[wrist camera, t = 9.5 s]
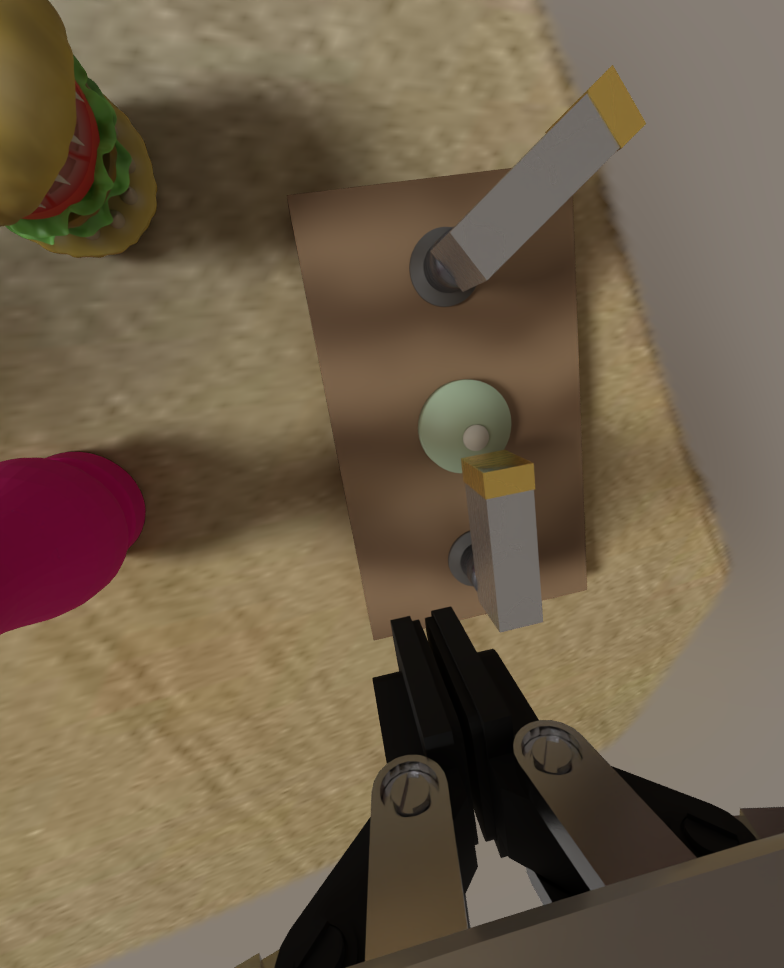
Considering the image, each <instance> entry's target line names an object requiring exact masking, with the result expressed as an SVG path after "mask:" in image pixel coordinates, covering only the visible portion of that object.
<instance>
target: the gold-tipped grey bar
mask: <svg viewBox="0 0 784 968" xmlns="http://www.w3.org/2000/svg"><path fill="white" fill-rule="evenodd" d="M645 124H646V123H645V121H644V119H643V117H642V116H641V114H640V112H639V110H638V109H637V107H636V105H635V103H634V101H633V100H632V98H631V96H630V95H629V93H628V91H627V89H626V87H625V86H624V84H623V82H622V81H621V79H620V77H619V75H618V73H617V72H616V70H615V68H614V67H613V65H612V66H611V67H610V68H609V69H608V70H607V71H606V72H605V73H604V74H603V75H602V76H601V77H600V78H599V79H598V80H597V81H596V82H595V83H594V84H593V85H592V86H591V87H590V88H589V89H588V90H587V91H586V92H585V93H584V94H583V95H582V96H581V97H580V98H579V99H578V100H577V101H576V102H575V103H574V104H573V105H572V106H571V107H570V108H569V109H568V110H567V111H566V112H565V113H564V114H563V115H562V116H561V117H560V118H559V119H558V120H557V121H556V122H555V123H554V124H553V125H552V126H551V127H550V128H549V129H548V130H547V131H546V132H545V133H546V134H545V135H544V136H543V137H542V138H541V139H540V140H539V141H538V142H537V143H536V144H535V145H534V146H533V147H532V148H531V149H530V150H529V151H528V152H527V153H526V154H525V155H524V156H523V157H522V158H521V159H520V160H519V162H518V163H517V164H516V165H515V166H514V167H513V168H512V169H511V170H510V171H509V172H508V173H507V174H506V175H505V176H504V177H503V178H502V179H501V180H500V181H499V182H498V183H497V184H496V185H495V186H494V187H493V188H492V189H491V190H490V191H489V192H488V193H487V194H486V195H485V196H484V197H483V198H482V199H481V200H480V201H479V202H478V203H477V204H476V205H475V206H474V207H473V208H472V209H471V210H470V211H469V212H468V213H467V214H466V215H465V216H464V217H463V218H462V219H461V221H460V222H459V223H458V224H457V225H456V226H454V227H452V228H450V229H449V230H448V231H446V232H445V233H444V234H443V235H442V236H441V237H440V238H439V239H438V240H437V241H436V242H435V243H434V244H433V245H432V246H431V247H430V248H429V250H428V251H427V253H426V255H425V258H424V264H423V269H424V274H425V277H426V279H427V281H428V283H429V284H430V285H431V286H432V287H433V288H434V289H435V290H437V291H439V292H443V293H451V292H455V291H457V290H459V289H461V290H462V292H463V291H466V290H468V289H470V288H472V287H474V286H476V285H478V284H481V283H483V282H485V281H487V280H488V279H489V278H490V277H491V276H492V275H493V274H494V273H495V272H496V271H497V270H498V269H499V268H500V267H501V266H502V265H503V264H504V263H505V262H506V261H507V260H508V259H509V258H510V257H511V256H512V255H513V254H514V253H515V252H516V251H517V250H518V249H519V248H520V247H521V246H522V245H523V244H524V243H525V242H526V241H527V240H528V239H529V238H530V237H531V236H532V235H533V234H534V233H535V232H536V231H537V230H538V229H539V228H540V227H541V226H542V225H543V224H544V223H545V222H546V221H547V220H548V219H549V218H550V217H551V216H552V215H553V214H554V213H555V212H556V211H557V210H558V209H559V208H560V207H561V206H562V205H563V204H564V203H565V202H566V201H567V200H568V199H569V198H570V197H571V196H572V195H573V194H574V193H575V192H576V191H577V190H578V189H579V188H580V187H581V186H582V185H583V184H584V183H585V182H586V181H587V180H588V179H589V178H590V177H591V176H592V175H593V174H594V173H595V172H596V171H597V170H598V169H599V168H600V167H601V166H602V165H603V164H604V163H605V162H606V161H607V160H608V159H609V158H610V157H611V156H612V155H613V154H614V153H615V152H616V151H618V150H620V149H621V148H622V147H623V146H624V145H625V144H626V143H627V142H628V141H629V140H630V139H631V138H632V137H633V136H634V135H635V134H636V133H637V132H638V131H639V130H640V129H641V128H642V127H643V126H644V125H645Z"/></svg>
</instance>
